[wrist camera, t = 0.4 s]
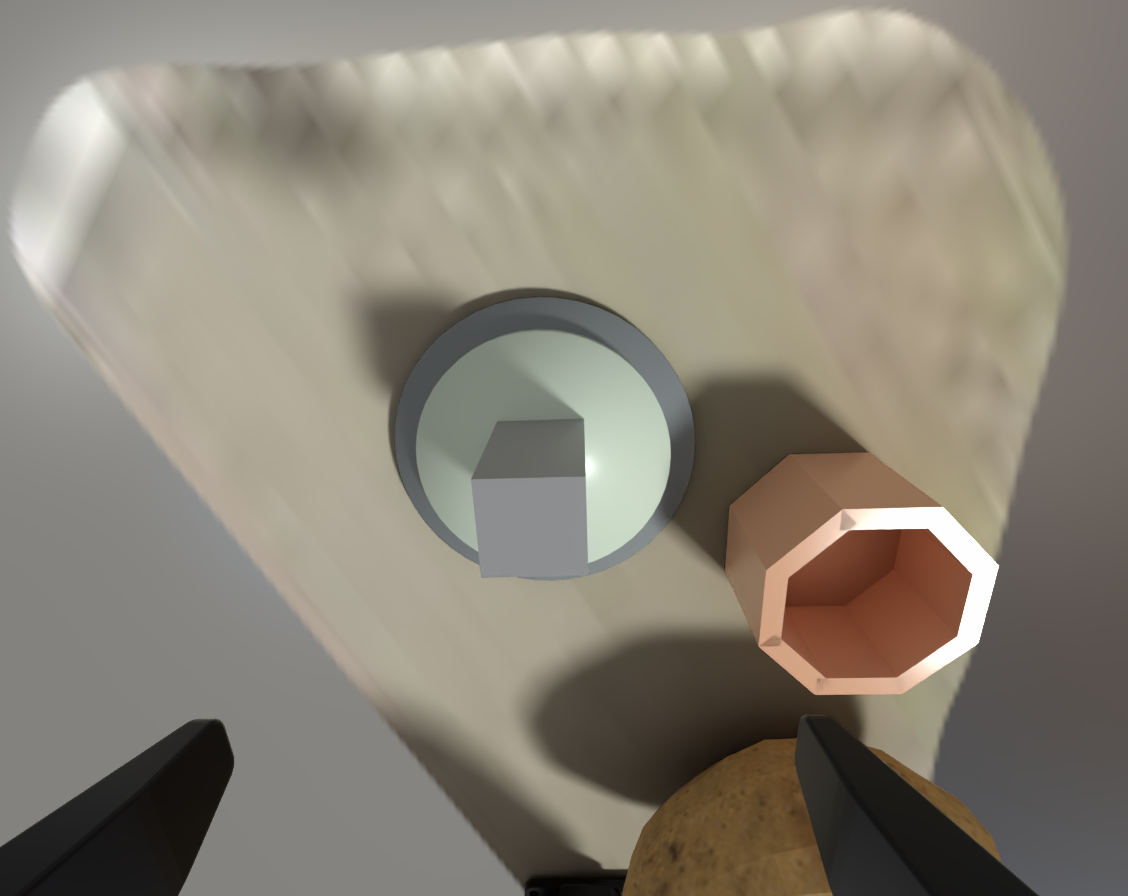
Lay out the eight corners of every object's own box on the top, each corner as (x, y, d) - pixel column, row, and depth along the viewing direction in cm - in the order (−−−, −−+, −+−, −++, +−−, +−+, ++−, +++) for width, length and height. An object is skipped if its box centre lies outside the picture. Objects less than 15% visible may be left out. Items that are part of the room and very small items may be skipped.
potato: (596, 715, 25) (603, 914, 18) (917, 665, 24) (1071, 858, 16) (635, 859, 29) (655, 1078, 21) (920, 822, 27) (1050, 1043, 20)
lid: (664, 556, 22) (692, 661, 16) (437, 561, 22) (391, 664, 17) (670, 323, 19) (708, 357, 13) (406, 333, 19) (337, 370, 14)
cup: (893, 610, 23) (964, 693, 19) (722, 612, 23) (753, 695, 19) (925, 450, 21) (1014, 505, 16) (733, 455, 21) (772, 511, 17)
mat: (687, 572, 23) (689, 577, 22) (418, 577, 23) (415, 582, 23) (699, 290, 19) (702, 291, 18) (376, 302, 19) (372, 304, 19)
